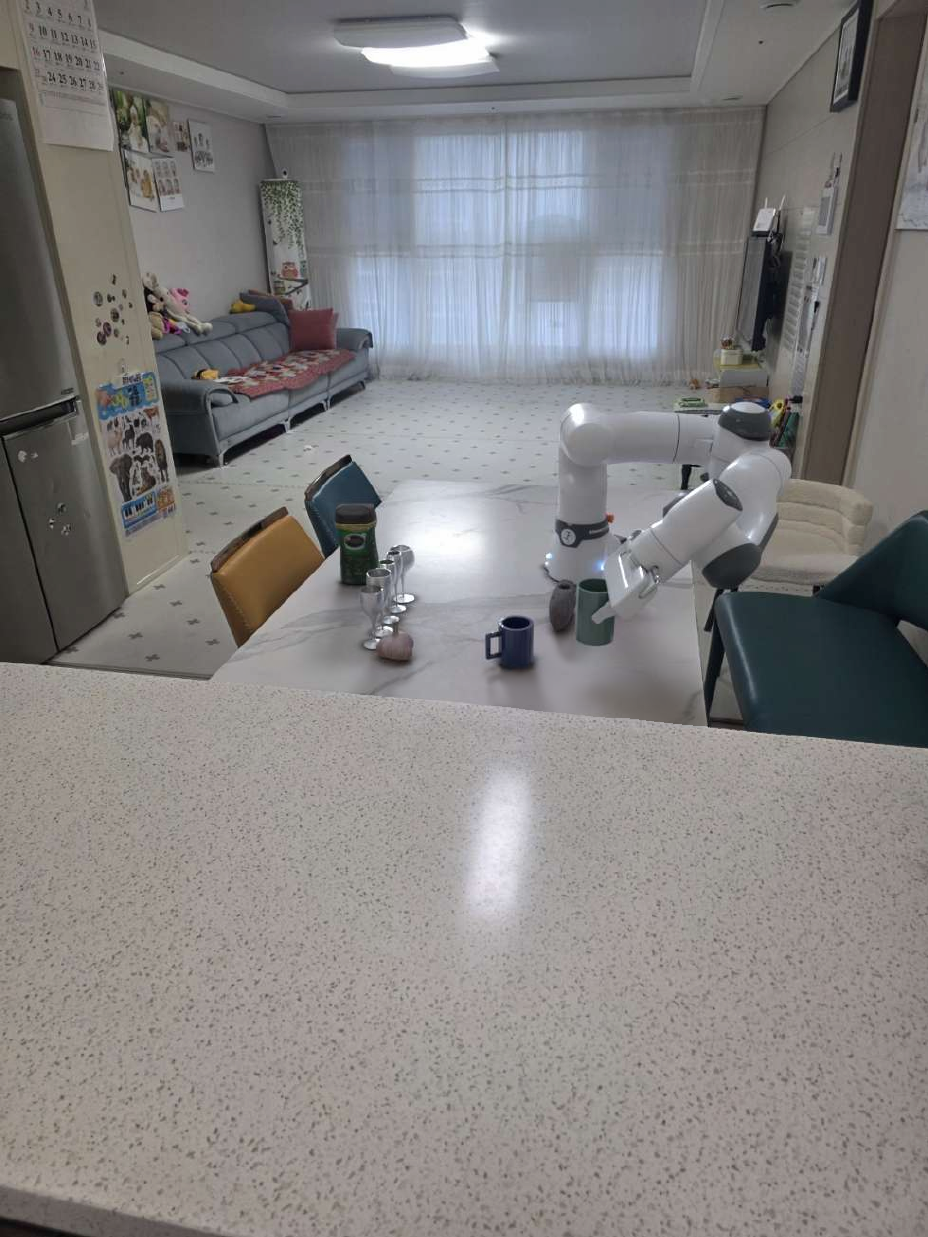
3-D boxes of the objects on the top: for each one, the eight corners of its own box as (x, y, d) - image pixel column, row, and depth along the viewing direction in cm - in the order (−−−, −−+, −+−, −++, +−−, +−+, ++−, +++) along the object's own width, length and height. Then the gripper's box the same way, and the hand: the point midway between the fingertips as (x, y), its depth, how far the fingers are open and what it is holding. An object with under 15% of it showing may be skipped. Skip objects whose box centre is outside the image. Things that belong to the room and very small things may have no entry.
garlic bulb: (417, 663, 157) (415, 625, 154) (379, 667, 156) (376, 629, 152) (411, 645, 164) (409, 609, 160) (374, 649, 162) (371, 613, 159)
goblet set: (385, 650, 162) (381, 588, 156) (357, 648, 163) (352, 586, 157) (419, 594, 187) (416, 539, 181) (394, 593, 188) (391, 538, 182)
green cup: (586, 626, 150) (589, 574, 145) (620, 635, 146) (624, 583, 142) (567, 639, 145) (569, 587, 140) (602, 649, 141) (605, 596, 137)
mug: (523, 650, 161) (523, 612, 158) (539, 664, 156) (540, 626, 152) (478, 659, 158) (478, 622, 154) (493, 674, 152) (492, 636, 149)
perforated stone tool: (567, 638, 166) (568, 606, 163) (541, 635, 167) (542, 603, 164) (579, 608, 179) (580, 578, 176) (555, 605, 180) (555, 576, 177)
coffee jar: (383, 573, 199) (378, 499, 191) (378, 585, 192) (373, 509, 184) (343, 573, 200) (337, 499, 192) (337, 585, 193) (330, 509, 185)
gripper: (675, 594, 130) (609, 648, 134) (658, 549, 148) (600, 598, 153) (648, 567, 128) (582, 623, 133) (634, 525, 146) (577, 575, 151)
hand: (592, 609), depth 143 cm, fingers closed on green cup, 7 cm apart
